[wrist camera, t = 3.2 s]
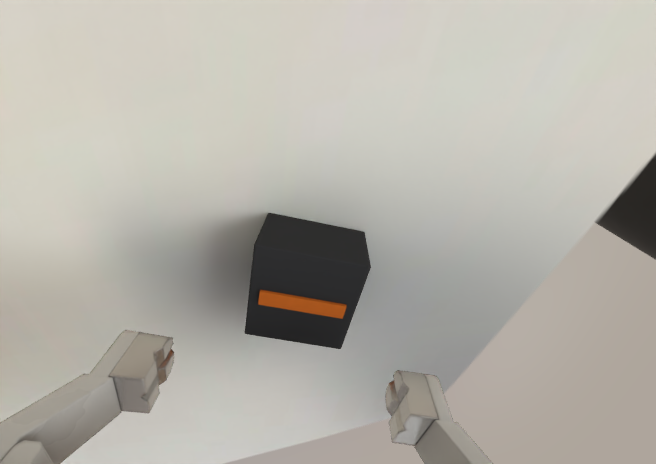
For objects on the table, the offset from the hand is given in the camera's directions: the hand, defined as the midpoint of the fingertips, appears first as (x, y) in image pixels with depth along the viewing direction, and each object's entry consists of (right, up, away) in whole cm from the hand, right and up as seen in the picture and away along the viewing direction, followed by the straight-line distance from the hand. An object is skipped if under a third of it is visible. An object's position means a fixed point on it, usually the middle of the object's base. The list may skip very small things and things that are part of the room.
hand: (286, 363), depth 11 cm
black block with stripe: (0, +3, +5) cm, 6 cm away
